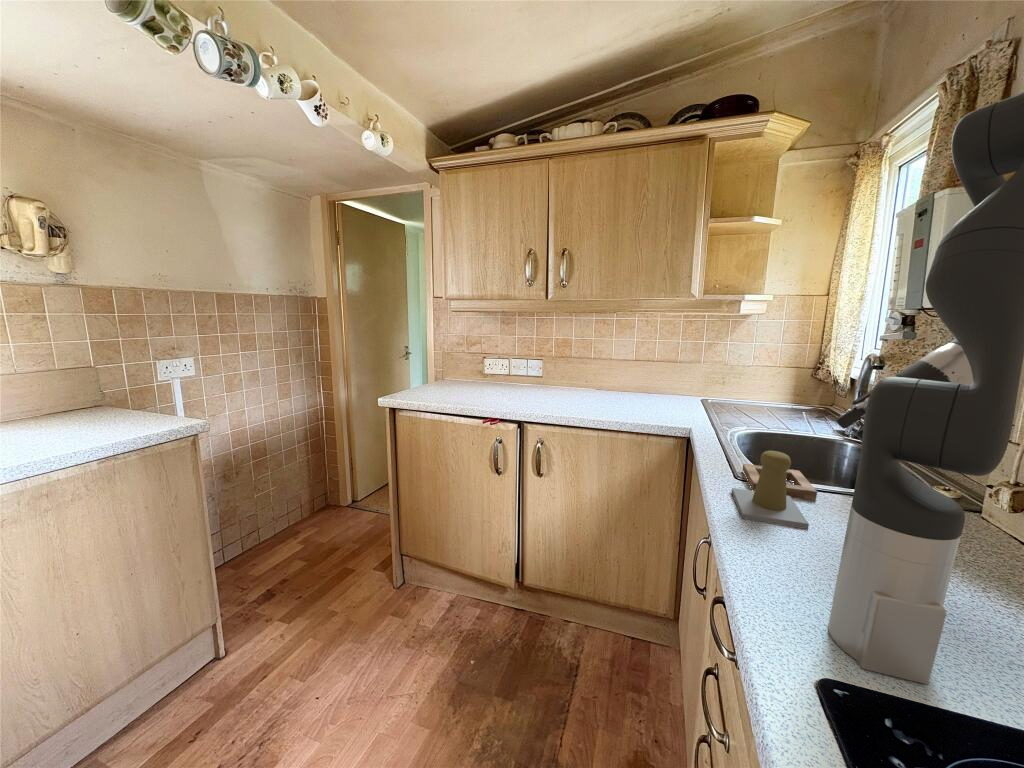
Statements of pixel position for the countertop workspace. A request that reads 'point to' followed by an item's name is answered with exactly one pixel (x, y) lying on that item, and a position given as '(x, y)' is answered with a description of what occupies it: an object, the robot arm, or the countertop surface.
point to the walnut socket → (797, 490)
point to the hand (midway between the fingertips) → (848, 431)
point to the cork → (772, 481)
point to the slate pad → (755, 512)
